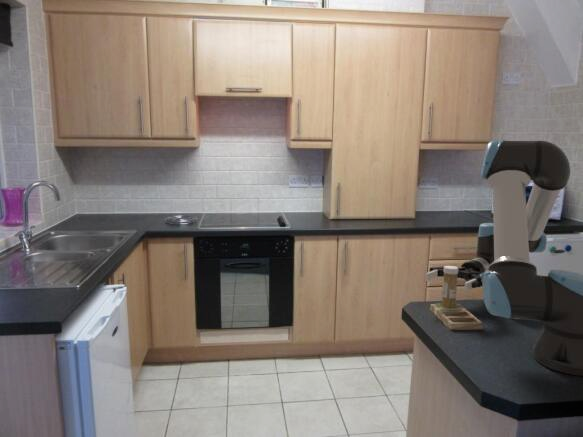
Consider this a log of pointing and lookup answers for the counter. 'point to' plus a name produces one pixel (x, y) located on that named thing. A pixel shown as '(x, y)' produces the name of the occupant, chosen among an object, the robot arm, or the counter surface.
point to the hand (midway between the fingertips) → (445, 282)
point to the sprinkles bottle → (449, 286)
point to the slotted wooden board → (456, 317)
